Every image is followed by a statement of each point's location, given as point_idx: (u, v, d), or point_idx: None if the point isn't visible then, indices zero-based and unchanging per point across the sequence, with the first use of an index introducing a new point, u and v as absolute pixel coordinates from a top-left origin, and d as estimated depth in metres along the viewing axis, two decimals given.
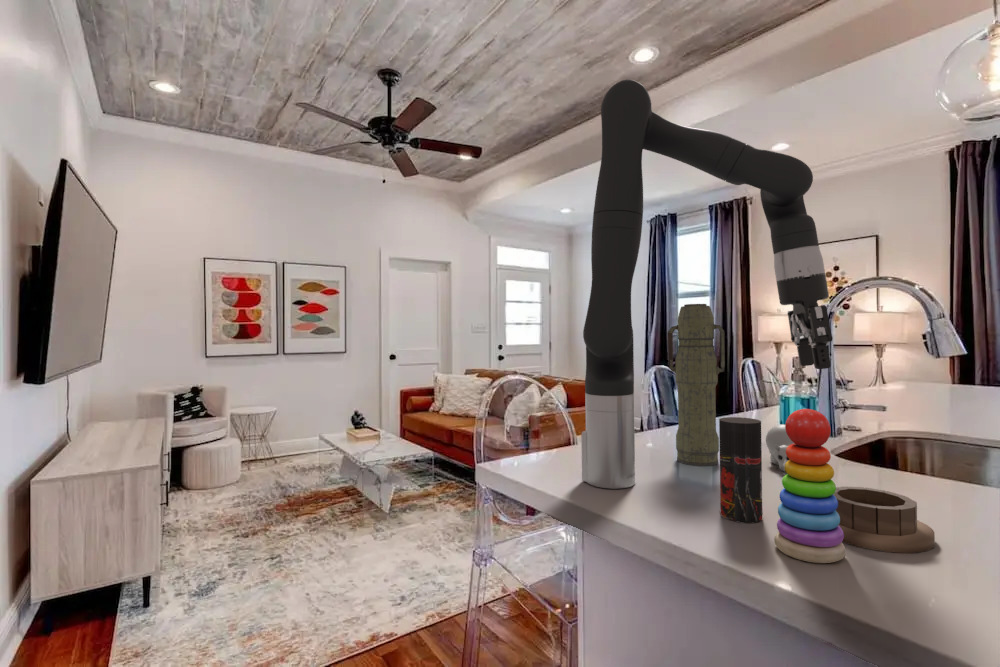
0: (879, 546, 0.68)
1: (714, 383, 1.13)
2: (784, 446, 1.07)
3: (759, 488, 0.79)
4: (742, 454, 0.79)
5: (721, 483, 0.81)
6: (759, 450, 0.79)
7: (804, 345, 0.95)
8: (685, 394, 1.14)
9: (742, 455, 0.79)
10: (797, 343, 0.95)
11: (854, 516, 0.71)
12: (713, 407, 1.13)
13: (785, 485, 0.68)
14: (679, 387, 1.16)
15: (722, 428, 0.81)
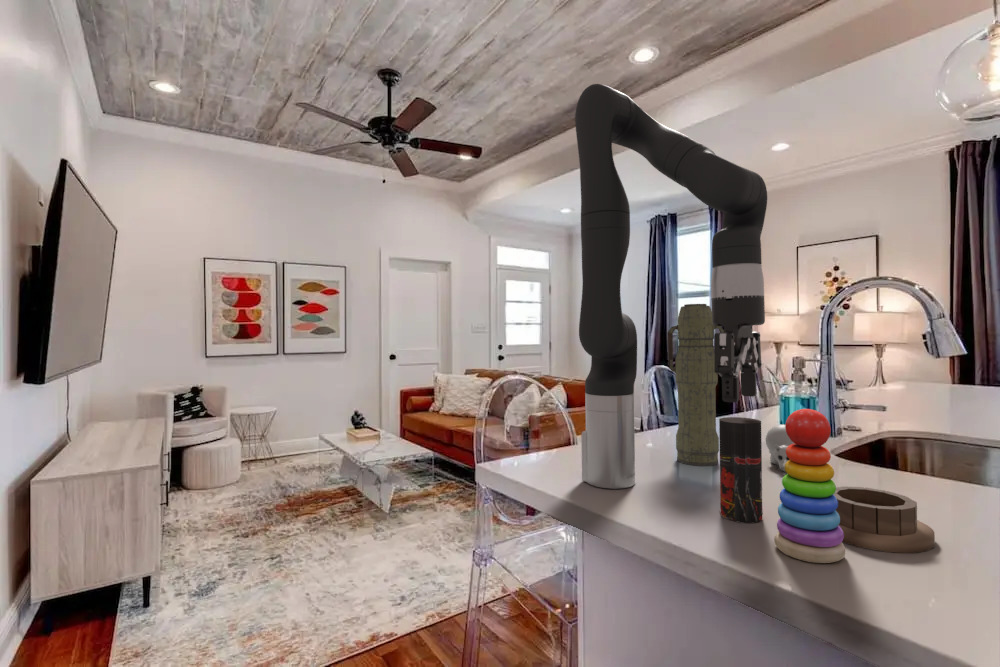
0: (879, 546, 0.68)
1: (714, 383, 1.13)
2: (784, 446, 1.07)
3: (759, 489, 0.79)
4: (742, 454, 0.79)
5: (721, 483, 0.81)
6: (759, 450, 0.79)
7: (747, 373, 0.84)
8: (685, 394, 1.14)
9: (742, 455, 0.79)
10: (741, 370, 0.85)
11: (854, 516, 0.71)
12: (713, 407, 1.13)
13: (785, 485, 0.68)
14: (679, 387, 1.16)
15: (722, 428, 0.81)
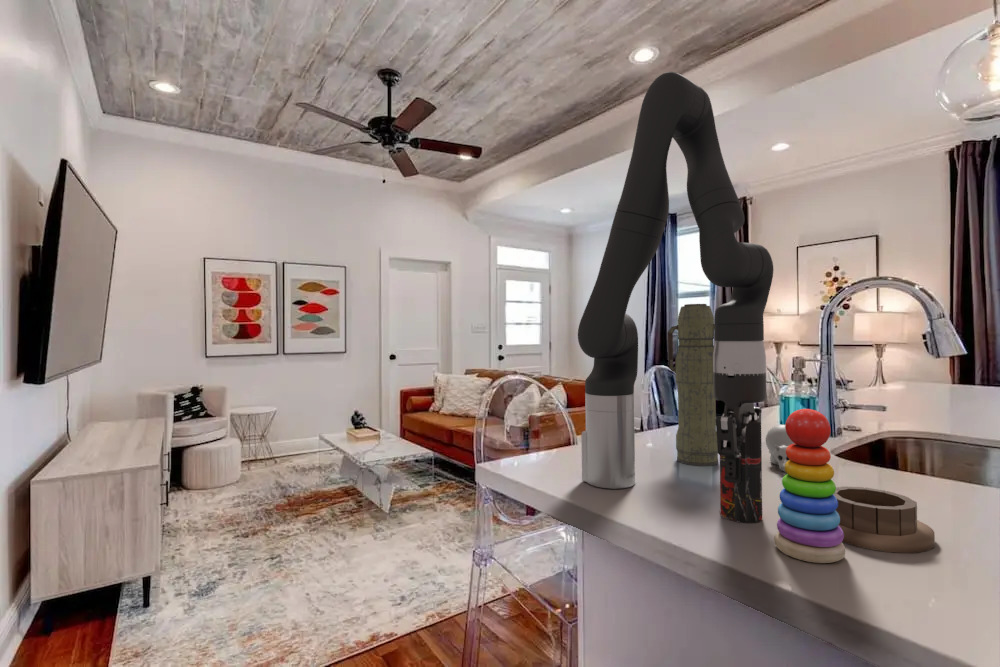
0: (879, 546, 0.68)
1: None
2: (784, 446, 1.07)
3: (759, 488, 0.79)
4: (742, 454, 0.79)
5: (721, 483, 0.81)
6: (759, 450, 0.79)
7: None
8: (685, 394, 1.14)
9: (742, 455, 0.79)
10: None
11: (854, 516, 0.71)
12: (713, 407, 1.13)
13: (785, 485, 0.68)
14: (679, 387, 1.16)
15: None
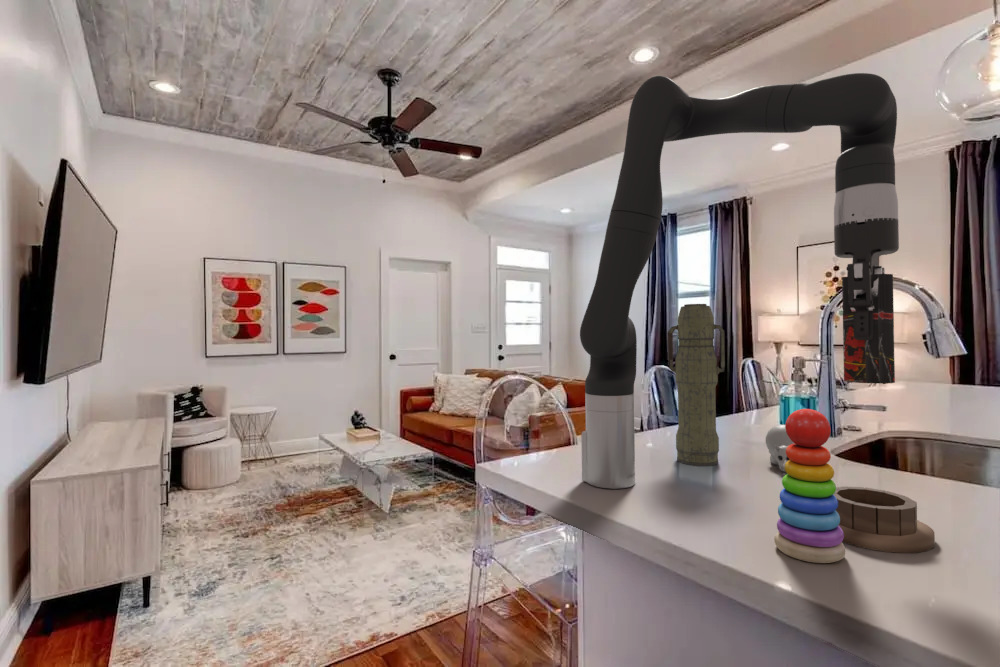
0: (879, 546, 0.68)
1: (714, 383, 1.13)
2: (784, 446, 1.07)
3: (892, 346, 0.72)
4: None
5: (846, 346, 0.74)
6: (892, 304, 0.72)
7: None
8: (685, 394, 1.14)
9: (874, 309, 0.71)
10: None
11: (854, 516, 0.71)
12: (713, 407, 1.13)
13: (785, 485, 0.68)
14: (679, 387, 1.16)
15: None
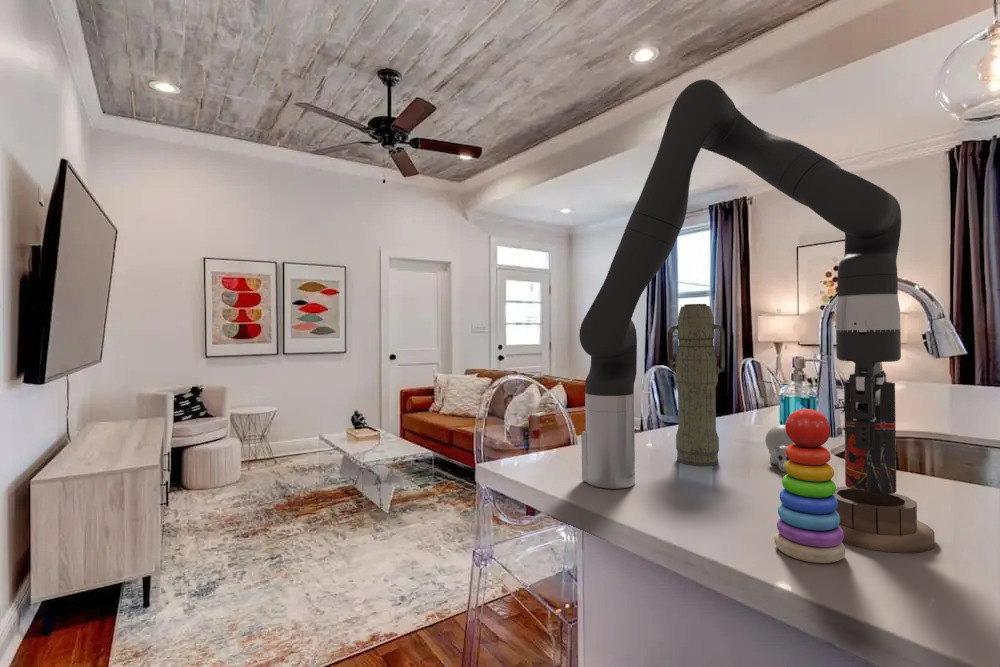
0: (879, 546, 0.68)
1: (714, 383, 1.13)
2: (784, 446, 1.07)
3: (894, 456, 0.72)
4: None
5: (848, 451, 0.74)
6: (894, 414, 0.72)
7: None
8: (685, 394, 1.14)
9: None
10: None
11: (854, 516, 0.71)
12: (713, 407, 1.13)
13: (785, 485, 0.68)
14: (679, 387, 1.16)
15: None
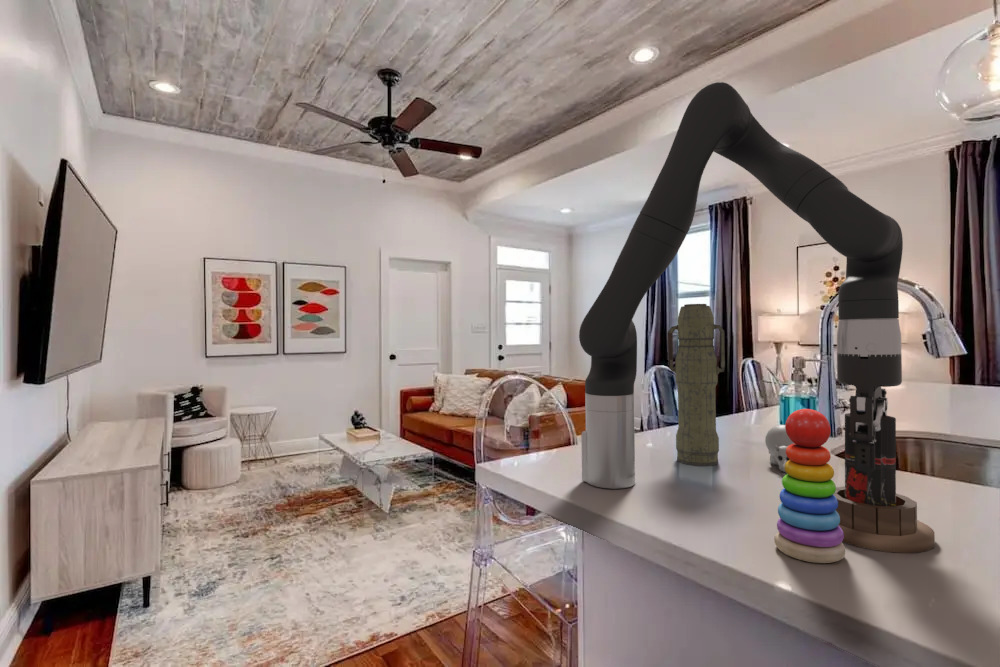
0: (879, 546, 0.68)
1: (714, 383, 1.13)
2: (784, 447, 1.07)
3: (894, 491, 0.72)
4: (877, 453, 0.71)
5: (848, 485, 0.74)
6: (895, 449, 0.72)
7: None
8: (685, 394, 1.14)
9: (877, 454, 0.71)
10: None
11: (854, 516, 0.71)
12: (713, 407, 1.13)
13: (785, 485, 0.68)
14: (679, 387, 1.16)
15: None
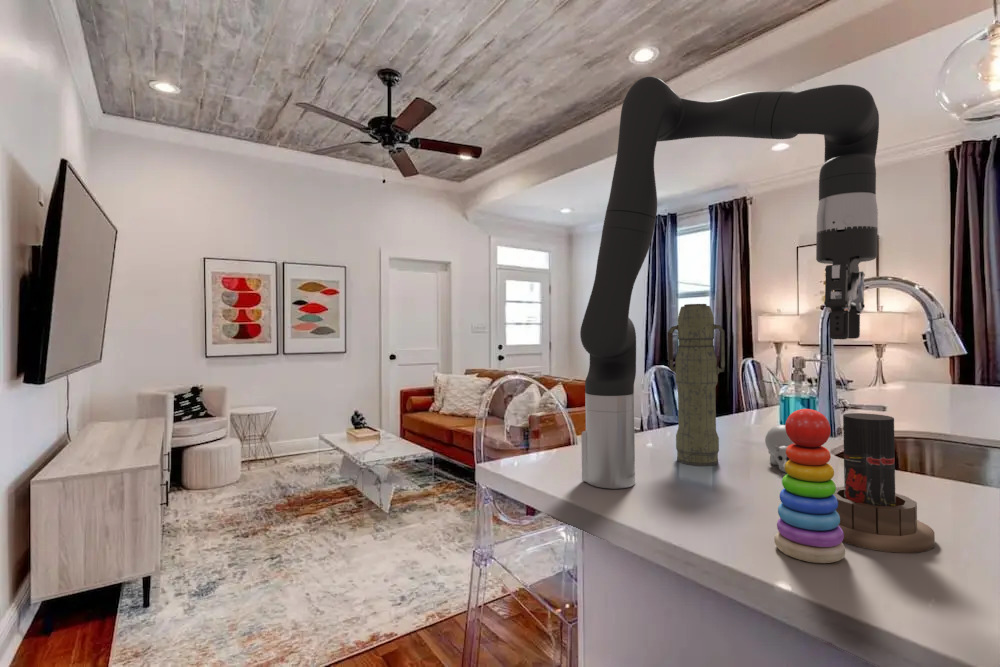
0: (879, 546, 0.68)
1: (714, 383, 1.13)
2: (784, 447, 1.07)
3: (894, 491, 0.72)
4: (876, 454, 0.71)
5: (847, 486, 0.74)
6: (893, 449, 0.72)
7: (850, 314, 0.80)
8: (685, 394, 1.14)
9: (876, 455, 0.71)
10: None
11: (854, 516, 0.71)
12: (713, 407, 1.13)
13: (785, 485, 0.68)
14: (679, 387, 1.16)
15: (849, 425, 0.74)
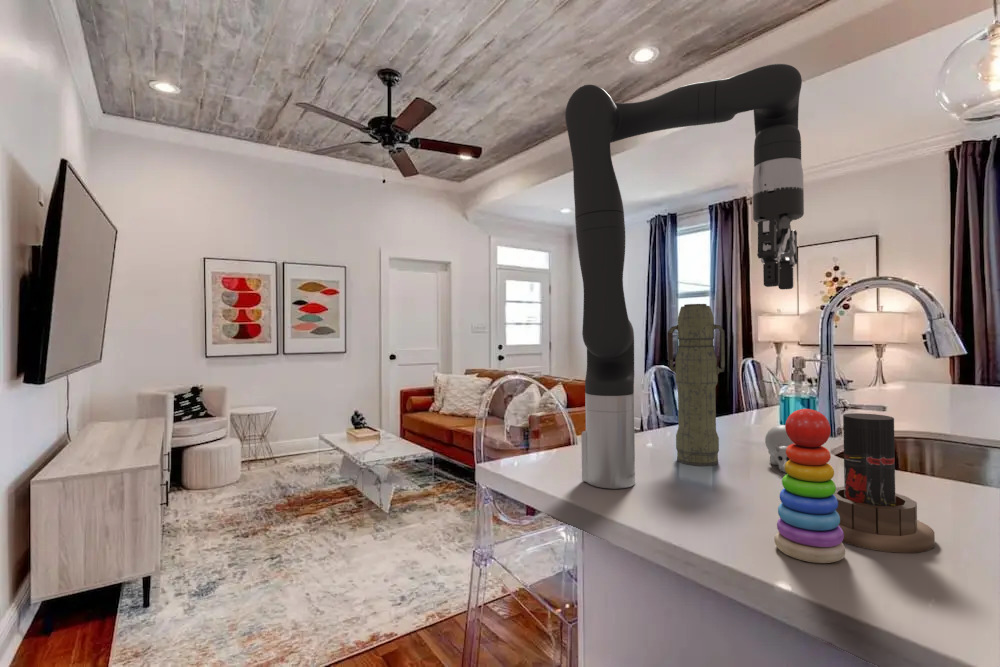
0: (879, 546, 0.68)
1: (714, 383, 1.13)
2: (784, 447, 1.07)
3: (894, 491, 0.72)
4: (876, 454, 0.71)
5: (848, 486, 0.74)
6: (893, 449, 0.72)
7: (785, 267, 0.90)
8: (685, 394, 1.14)
9: (876, 455, 0.71)
10: (778, 265, 0.91)
11: (854, 516, 0.71)
12: (713, 407, 1.13)
13: (785, 485, 0.68)
14: (679, 387, 1.16)
15: (849, 425, 0.74)
